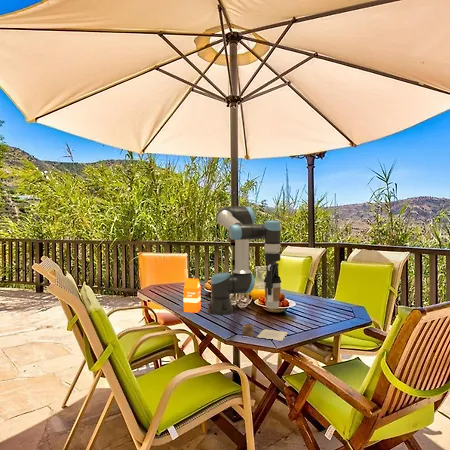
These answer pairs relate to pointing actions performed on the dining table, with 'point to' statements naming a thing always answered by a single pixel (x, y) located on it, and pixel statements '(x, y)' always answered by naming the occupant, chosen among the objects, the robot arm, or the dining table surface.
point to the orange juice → (192, 295)
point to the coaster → (272, 335)
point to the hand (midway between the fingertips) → (272, 299)
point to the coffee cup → (274, 293)
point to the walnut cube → (248, 330)
